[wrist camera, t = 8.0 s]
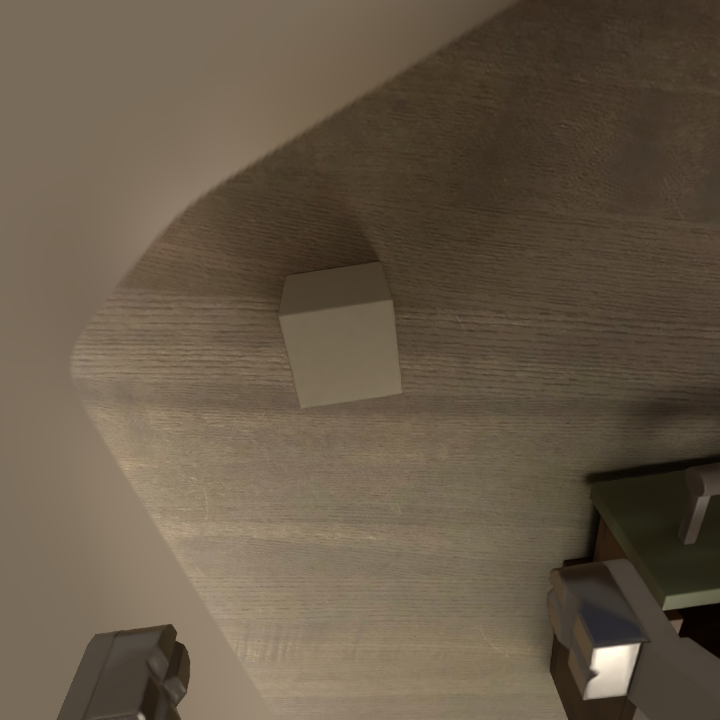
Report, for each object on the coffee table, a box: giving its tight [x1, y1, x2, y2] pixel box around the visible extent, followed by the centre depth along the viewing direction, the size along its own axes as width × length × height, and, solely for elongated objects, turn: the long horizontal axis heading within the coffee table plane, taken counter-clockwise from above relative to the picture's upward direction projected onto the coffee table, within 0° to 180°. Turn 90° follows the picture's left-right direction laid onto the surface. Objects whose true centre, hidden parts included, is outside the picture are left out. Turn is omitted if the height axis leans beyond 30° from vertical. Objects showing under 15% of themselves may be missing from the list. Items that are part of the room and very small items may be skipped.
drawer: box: [590, 463, 720, 659], centre depth 28 cm, size 18×11×7 cm, turn 8°
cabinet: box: [550, 557, 650, 720], centre depth 34 cm, size 15×13×9 cm
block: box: [278, 262, 403, 408], centre depth 21 cm, size 4×4×4 cm
